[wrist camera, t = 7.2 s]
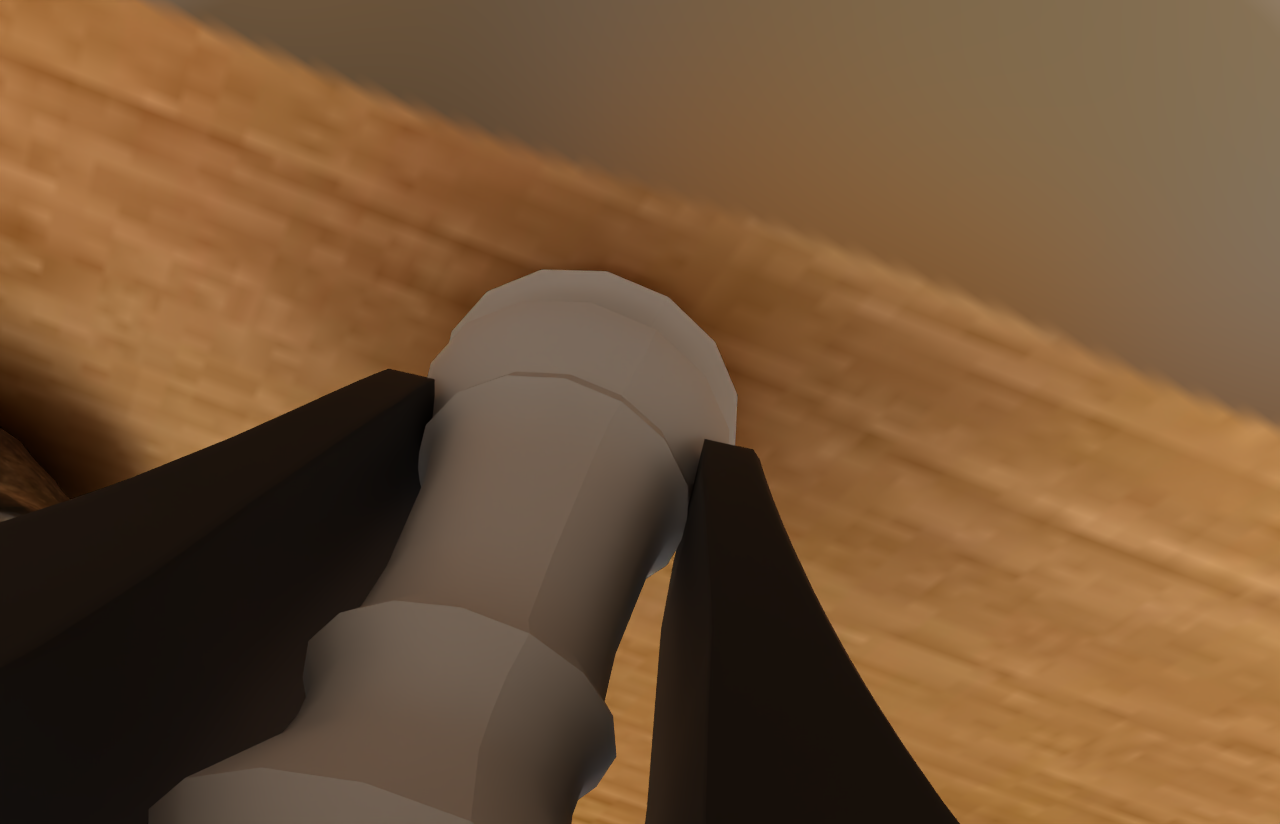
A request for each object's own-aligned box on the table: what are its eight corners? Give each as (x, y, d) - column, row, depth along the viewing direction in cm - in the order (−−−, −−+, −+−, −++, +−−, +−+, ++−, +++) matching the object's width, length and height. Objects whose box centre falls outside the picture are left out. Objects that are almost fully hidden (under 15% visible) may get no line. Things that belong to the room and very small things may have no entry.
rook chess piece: (531, 189, 9) (-113, 769, 2) (803, 370, 10) (869, 1189, 3) (410, 418, 12) (-90, 1038, 5) (639, 551, 12) (481, 1246, 6)
